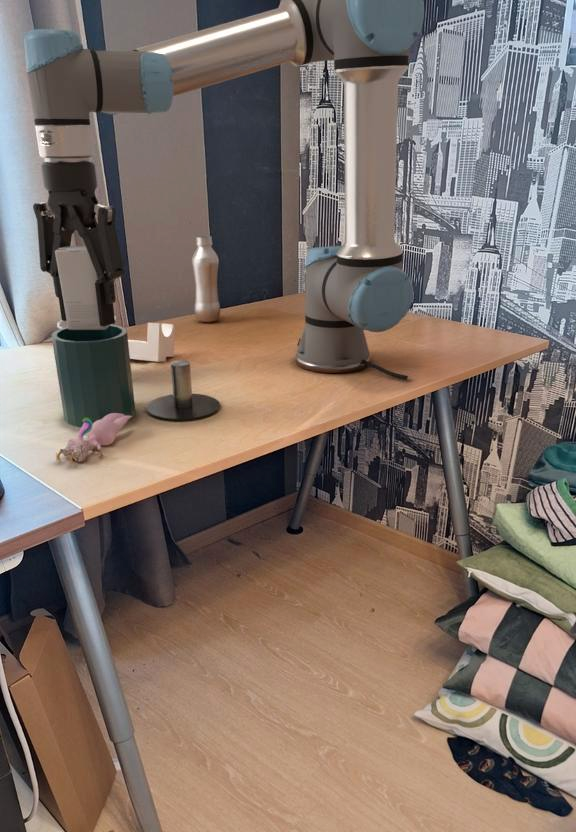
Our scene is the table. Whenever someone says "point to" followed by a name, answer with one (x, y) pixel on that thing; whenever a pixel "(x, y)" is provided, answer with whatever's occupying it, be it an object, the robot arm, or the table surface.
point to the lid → (182, 399)
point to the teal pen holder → (93, 373)
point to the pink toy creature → (93, 436)
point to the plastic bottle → (205, 280)
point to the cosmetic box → (78, 288)
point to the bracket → (154, 343)
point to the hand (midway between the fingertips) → (88, 321)
